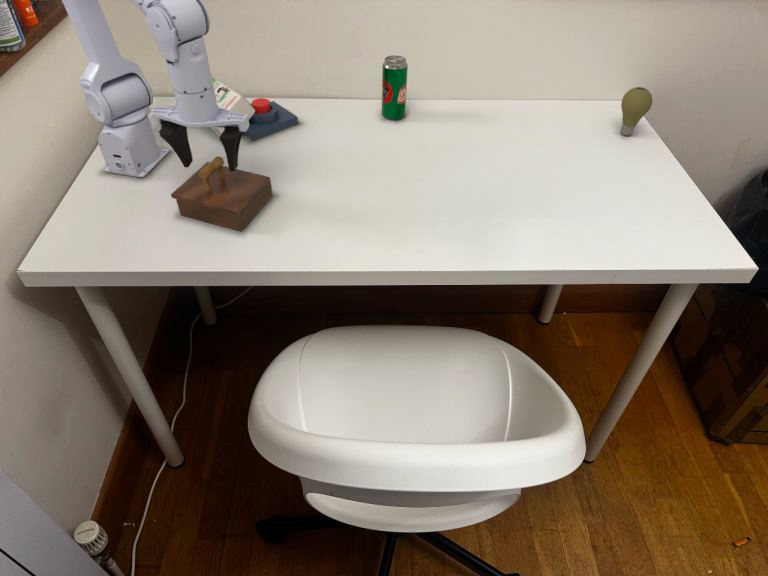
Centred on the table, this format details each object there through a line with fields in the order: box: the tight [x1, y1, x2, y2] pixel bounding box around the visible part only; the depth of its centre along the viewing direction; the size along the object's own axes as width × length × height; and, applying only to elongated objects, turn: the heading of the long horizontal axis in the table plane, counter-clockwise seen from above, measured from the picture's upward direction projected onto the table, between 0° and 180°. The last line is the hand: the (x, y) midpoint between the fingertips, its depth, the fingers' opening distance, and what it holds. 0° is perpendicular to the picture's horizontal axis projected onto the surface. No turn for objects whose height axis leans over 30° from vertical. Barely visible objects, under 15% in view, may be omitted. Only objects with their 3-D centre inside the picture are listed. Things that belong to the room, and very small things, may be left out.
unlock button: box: [251, 97, 271, 114], centre depth 114 cm, size 4×4×2 cm
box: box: [242, 100, 299, 142], centre depth 116 cm, size 11×9×4 cm
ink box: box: [206, 77, 255, 137], centre depth 113 cm, size 8×5×12 cm
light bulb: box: [620, 86, 653, 137], centre depth 113 cm, size 6×6×10 cm
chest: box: [175, 180, 274, 233], centre depth 95 cm, size 12×11×3 cm
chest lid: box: [170, 155, 271, 215], centre depth 93 cm, size 12×11×5 cm
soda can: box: [381, 54, 409, 121], centre depth 116 cm, size 5×5×12 cm
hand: (211, 166), depth 92 cm, fingers open, 7 cm apart
